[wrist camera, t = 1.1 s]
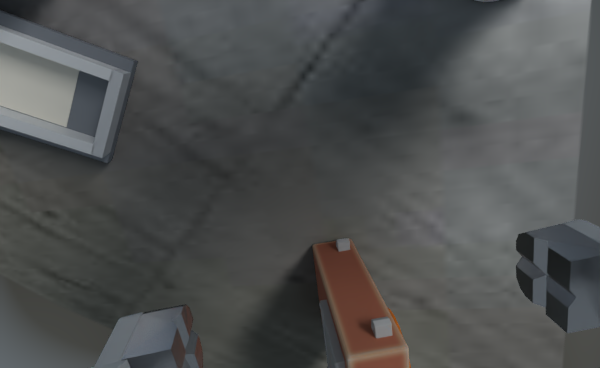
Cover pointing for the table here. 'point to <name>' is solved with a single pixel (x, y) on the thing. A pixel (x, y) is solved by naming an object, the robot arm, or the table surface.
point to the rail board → (61, 88)
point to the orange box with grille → (355, 312)
